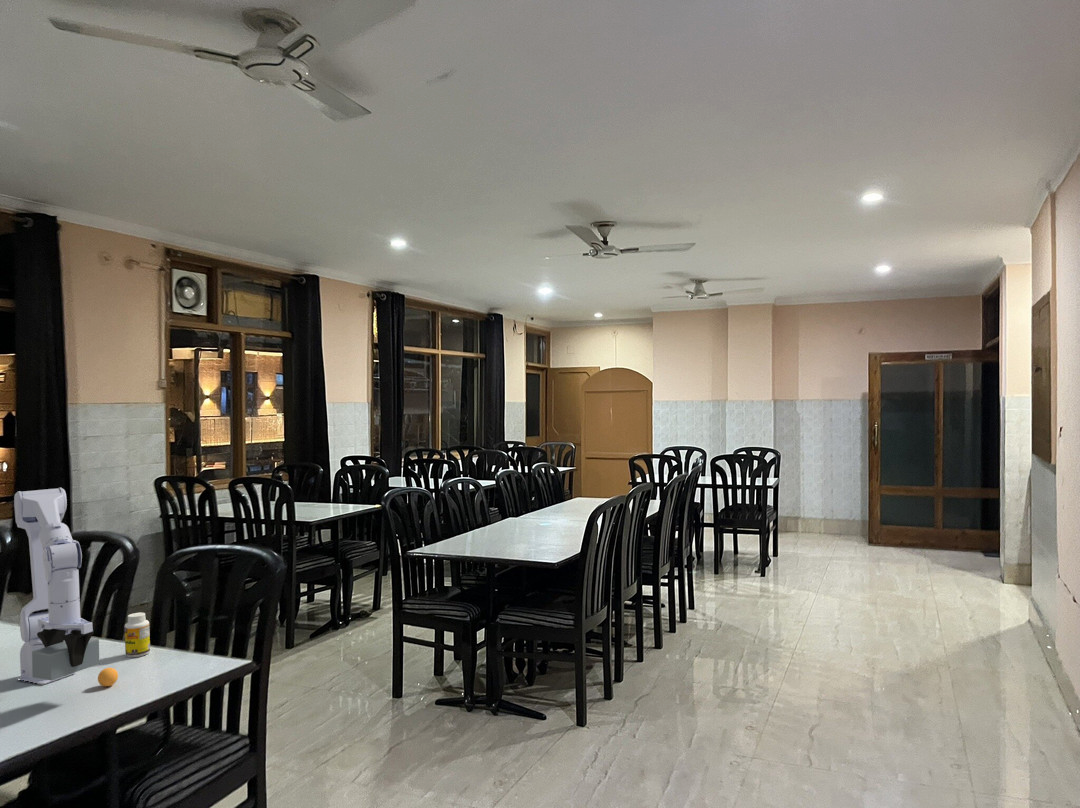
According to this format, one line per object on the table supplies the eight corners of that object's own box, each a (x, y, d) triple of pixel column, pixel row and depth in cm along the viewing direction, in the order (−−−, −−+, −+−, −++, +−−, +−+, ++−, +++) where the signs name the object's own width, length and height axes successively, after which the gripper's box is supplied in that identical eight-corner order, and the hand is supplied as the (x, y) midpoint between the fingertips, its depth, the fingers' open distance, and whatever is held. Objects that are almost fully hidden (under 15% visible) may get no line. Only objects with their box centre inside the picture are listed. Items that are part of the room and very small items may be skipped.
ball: (94, 688, 172) (93, 670, 172) (110, 681, 176) (109, 664, 176) (106, 690, 171) (105, 672, 171) (122, 683, 174) (121, 666, 174)
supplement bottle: (120, 656, 194) (119, 616, 194) (141, 649, 199) (140, 610, 199) (134, 659, 191) (132, 618, 191) (155, 652, 196) (153, 612, 196)
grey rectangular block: (32, 677, 160) (31, 651, 160) (81, 661, 170) (80, 636, 170) (51, 680, 158) (50, 654, 158) (99, 663, 168) (98, 639, 168)
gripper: (22, 602, 163) (25, 666, 163) (69, 607, 157) (71, 673, 157) (55, 594, 169) (57, 655, 170) (100, 599, 164) (103, 662, 164)
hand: (66, 663), depth 164 cm, fingers closed on grey rectangular block, 6 cm apart
